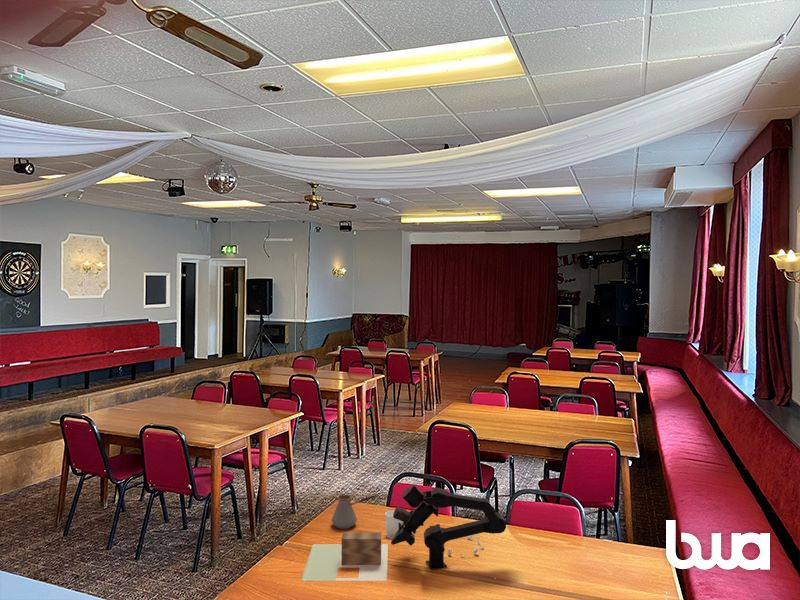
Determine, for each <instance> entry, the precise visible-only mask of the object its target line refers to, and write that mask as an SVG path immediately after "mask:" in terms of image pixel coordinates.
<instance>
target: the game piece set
mask: <svg viewBox="0 0 800 600" xmlns="http://www.w3.org/2000/svg"><path fill="white" fill-rule="evenodd" d="M472 536H473V535H471V536H466V538H467V540H470V541H471V540H472V539H473V537H472ZM475 542H476V543H475V544H476V545H478V546H480V548H477V547H475V548H474V549H473V551H472V553H473V554H474V556H476V555H477V553H478V552H479V550H485V547H484V546H481V544H482V540H480V536H479V535H478V536H477V540H476V541H475ZM447 550H448V551H447V554H448V556H451V555H452V549H451V548H450V547H449V548H448V549H447ZM459 556H461V558H466V556H465V555H464V554H463V555H462V554H459Z"/></svg>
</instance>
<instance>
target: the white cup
mask: <svg viewBox="0 0 800 600" xmlns="http://www.w3.org/2000/svg"><path fill="white" fill-rule="evenodd" d="M394 511H395V509H390V510H387V511H385V513H384V515H385V516H384V518H385V519H384V520H385V536H386V538H388V539H390V540H392V539H393V538H394V536H395V534H396V533H397V531H398V529H399V523H400V524H401V523H402V522H403V521H401V520H398V519H395V518H394V517H393V513H394Z"/></svg>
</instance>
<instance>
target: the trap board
mask: <svg viewBox="0 0 800 600" xmlns="http://www.w3.org/2000/svg"><path fill="white" fill-rule="evenodd" d="M388 550H389V544H387V543H386V544H385V543H381V565H342V543H337V544H336V543H334V544H333V543H329V544H328V543H324V544H323V543H313V544H312V546H311V549H310V551H309V555H308V559H307V561H306V564H305V567H304V571H303V574H302V577H301V582H304V581H305V582H360V581H361V582H363V581H364V582H374V581H375V582H384V581H385V582H386V581H388V557H389V556H388V554H389V551H388ZM340 568H342V569H343V568H346V569H347V568H351V569H352V568H354V569H355V568H358V569H359V570H358V577H338V571H339V569H340Z"/></svg>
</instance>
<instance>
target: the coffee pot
mask: <svg viewBox="0 0 800 600" xmlns="http://www.w3.org/2000/svg"><path fill="white" fill-rule="evenodd" d="M374 498H375V499H376V500H379V497H378V495H377V494H375V495H371V496H367V497H364V498H362V499H359V500H358V501H354V502H351V499H352V496H351V495H349V494H341V495H338V496H337V500H338V503H337V505H336V508H335V510H334V512H333V515H332V517H331V523H332V524H333V525H334V526H335V527H336V528H337V529H340V530H341V529H342V530H344V529H345V530H347V529H351V528H353V526H354V525H355V524H356V523H357V520H358V517H357V515H356V512H355V511H354V508H353V506H354V505H356V504H359V503H363V502H366V501H369V500H371V499H374Z"/></svg>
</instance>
